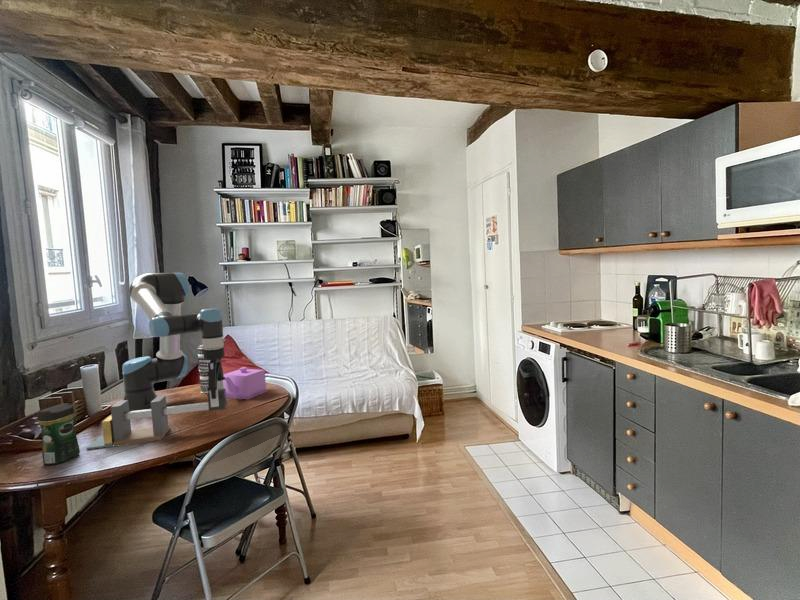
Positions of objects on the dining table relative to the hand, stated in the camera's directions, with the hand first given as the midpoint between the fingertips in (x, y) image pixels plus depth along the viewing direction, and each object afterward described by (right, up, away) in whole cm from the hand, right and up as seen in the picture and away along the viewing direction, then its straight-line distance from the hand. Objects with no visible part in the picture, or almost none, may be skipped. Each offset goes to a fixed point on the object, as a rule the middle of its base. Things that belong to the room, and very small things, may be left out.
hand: (217, 401), depth 167 cm
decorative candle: (-28, -8, +56) cm, 63 cm away
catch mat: (-37, -13, -9) cm, 41 cm away
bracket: (-26, -12, -6) cm, 29 cm away
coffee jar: (-43, -14, -23) cm, 51 cm away
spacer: (-35, -12, -9) cm, 38 cm away
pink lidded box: (-6, -8, +44) cm, 45 cm away
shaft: (-14, -4, -4) cm, 15 cm away
